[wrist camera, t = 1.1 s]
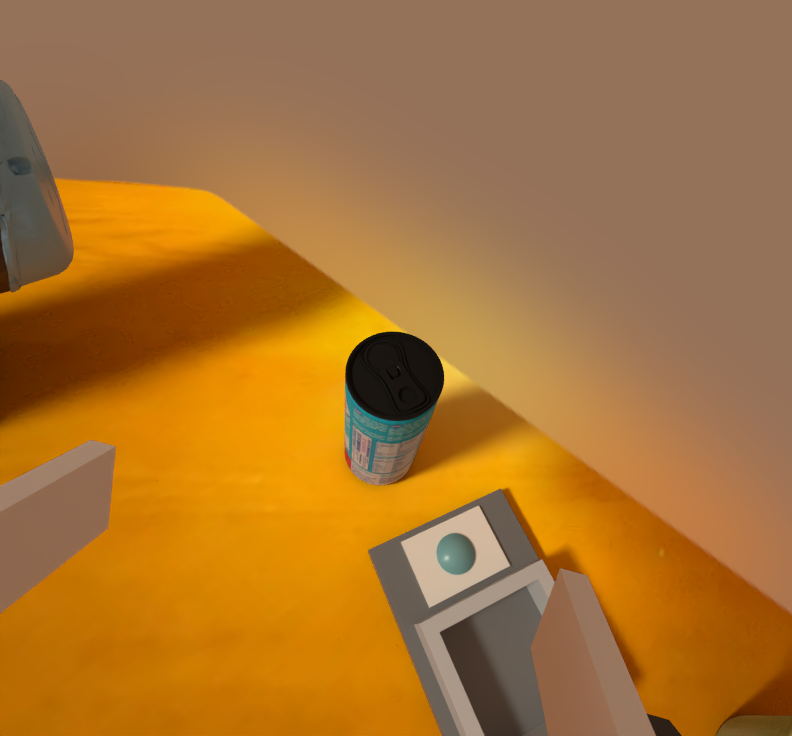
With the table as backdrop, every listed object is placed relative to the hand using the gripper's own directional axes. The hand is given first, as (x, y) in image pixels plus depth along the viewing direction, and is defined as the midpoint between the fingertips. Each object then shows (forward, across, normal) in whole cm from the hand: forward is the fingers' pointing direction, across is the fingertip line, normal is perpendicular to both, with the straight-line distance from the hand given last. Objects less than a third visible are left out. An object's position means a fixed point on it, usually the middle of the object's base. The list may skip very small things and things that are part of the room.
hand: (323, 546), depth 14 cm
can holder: (+19, +11, -17) cm, 28 cm away
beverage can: (+27, 0, -9) cm, 28 cm away
